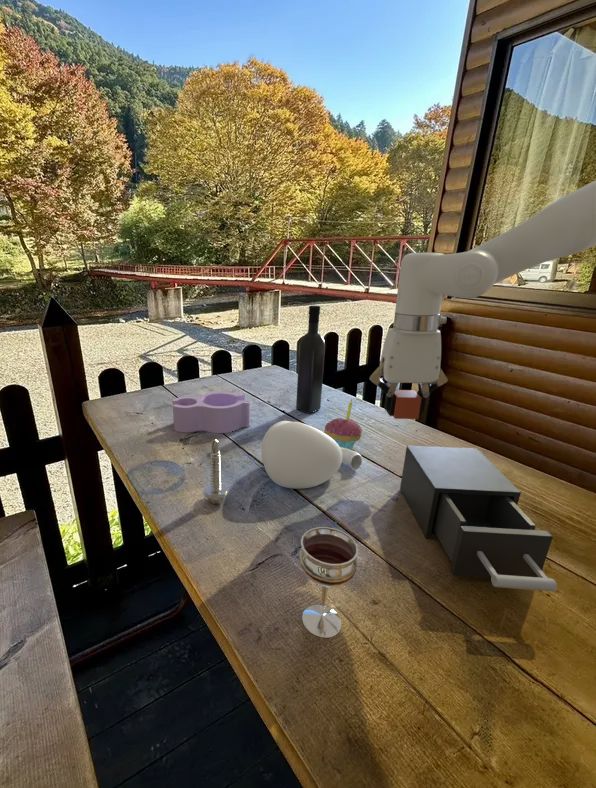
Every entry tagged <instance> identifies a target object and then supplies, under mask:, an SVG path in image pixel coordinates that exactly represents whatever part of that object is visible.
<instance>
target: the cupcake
mask: <svg viewBox="0 0 596 788" xmlns="http://www.w3.org/2000/svg"><path fill="white" fill-rule="evenodd" d="M352 406H353V398H351V399H350V401H349V402H348V407H347V413H346V417H345V418H343V417H338V418H334V419H332V420H330V421H328V422H327V423H326V425H325V427H324V432H323V433H325V434H326V435H328V436H329V437H331V438H332V439H333V440H334V441H335V442H336V443H337V444H338V445H339V447H342V448H346V449H350V450H353V446H354V445H355V443H356V442H357V441H360V439H361V437H362V432H363V429H362V427H361V425H360V424H359V423H358V422H356V421H354V420H352V419H350V416H351V412H352Z"/></svg>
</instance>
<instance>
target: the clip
mask: <svg viewBox="0 0 596 788" xmlns="http://www.w3.org/2000/svg"><path fill="white" fill-rule="evenodd" d="M172 417H173V418H172V419H173V429H174V431H175V432H178V433H194V432H198V431H199V432H201V431H202V432H207V433H212V434H229V433H233V432H236V431H238V430H240V429H242V428H243V427H242V426H245V427H244V428H246V427H248V428H250V427H249V426H251V425H250V423H251V421H250V420H251V402H250V401H247V400H246V394H245V393H243V392H240V393H235V392H229V391H213V392H212V391H211V392H208V393H204V394H202V395H197V396H179V397H176V398H173V399H172ZM239 428H240V429H239ZM237 429H238V430H237ZM235 430H236V431H235ZM232 431H233V432H232Z"/></svg>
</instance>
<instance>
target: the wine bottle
mask: <svg viewBox="0 0 596 788" xmlns="http://www.w3.org/2000/svg"><path fill="white" fill-rule="evenodd" d="M320 315H321V305H309V306H308V326H307V327H308V328H307V332H306V333H305V334H304V335H303V336H302V337H301V339H300V342H299V345H298V363H297V380H296V381H297V384H296V398H295V399H296V401H295V409H296V410H297V409H299V410H298V411H300V410H302V411H301V412H303V411H305V412H304V413H306V412H313V411H315V410H318V409H320V410H321V406H322V405H321V403H322V393H323V392H322V391H323V382H324V381H323V379H324V367H325V353H326V343H325V339H324V337H323V336H322V334H320V333H319V324H320ZM318 411H319V410H318ZM315 412H316V411H315ZM313 413H314V412H313Z"/></svg>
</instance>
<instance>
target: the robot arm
mask: <svg viewBox="0 0 596 788" xmlns="http://www.w3.org/2000/svg"><path fill="white" fill-rule="evenodd" d="M593 247H596V179H595V180H594V181H593V180H592V181H591V182H590V183H587V184H586V185H584V186H581V187H580V188H578V189H576V190H574V191H572V192H570V193H568V194H566V195H565V196H562V197H561V198H559V199H557V200H555V201H554V202H552V203H551V204H549V205H547V206H545V208H543V209H541V210H540V211H539V212H537V213H536V214H534V215H533V216H531V217H530V218H528V219H527V220H525V221H523V222H521V223H520V224H518V225H516V226H514V227H512V228H510V229H508V230H506V231H504V232H503V233H501V234H498V235H497V236H495V237H493V238H492V239H489V240H487V241H485V242H483V243H482V244H479V245H478V246H476V247H474V248H472V249H469V250H468V251H463V252H457V253H455V252H454V253H442V252H410V253H406V254H405V255H404V256H403V257H402V259H401V261H400V267H399V275H398V276H399V277H398V283H397V293H396V302H395V309H394V319H393V324H392V325H393V326H392V327H390V328H388V329H387V332H386V335H385V338H384V342H383V346H382V351H381V355H380V361H379V366H378V367H377V368H376V369H375V370H374V371H373V372H372V374H371V375H370V376H369V380H370V382H372V384H374V385H375V386H377V387H378V388H380V389H381V391H382V392H383V393H384V394H385V397H384V405H383V408H384V410H385V411H386V413H387V415H389V417H393V415H394V409H395V402H396V398H395V396H394V393H395V390H397V387H398V385H399V383H400V384H417V391H416V393H417V394H418V395H419V396H420V397H421V404H420V411H419V418H420V417H422V415H423V414H422V413H423V412H424V411H425V409H426V408H425V407H426V400H427V398H429V397H430V394H432V393H433V392H434V391H436V390H437V389H438V388H439V387H441V386H443V385H444V384H447V383H448V382H449V381H448V380H449V378H448V377H447V376H446V374H445V373H444V371H443V369H442V368H441V361H442V335H441V330H439V328H440V325H445V324H446V323H447V321H448V319H447V316H442V314H441V307H442V301H443V296H447V297H453V298H460V299H474V298H478V297H481V296H483V295H484V294H486V293H487V292H489V291H490V290H491V289H492V288H493V286H494V285H496V284H498V283H500V282H502V281H504V280H507V279H509V278H510V277H513V276H515V275H517V274H519V273H521V272H524V271H526V270H529V269H531V268H533V267H536V266H539V265H540V264H541V265H542V264H544V263H545V262H549V261H553V260H556V259H561V258H565V257H568V256H572V255H576V254H577V253H580V252H583V251H586V250H588V249H591V248H593ZM381 377H383V379H384V380H385V381H386V383H385V382H384V381H383V380H382V379H381Z"/></svg>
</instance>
